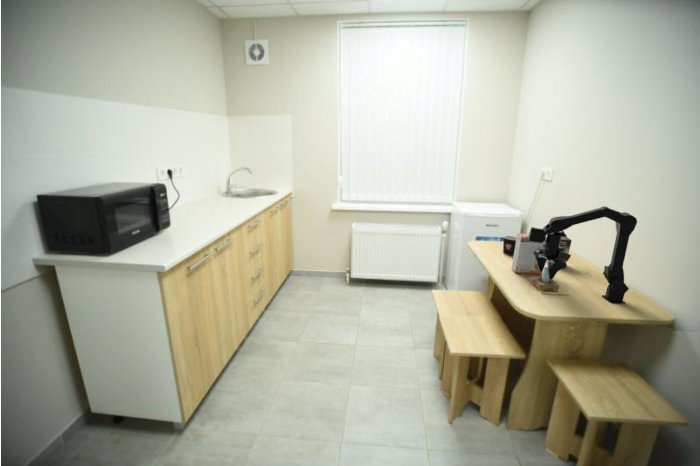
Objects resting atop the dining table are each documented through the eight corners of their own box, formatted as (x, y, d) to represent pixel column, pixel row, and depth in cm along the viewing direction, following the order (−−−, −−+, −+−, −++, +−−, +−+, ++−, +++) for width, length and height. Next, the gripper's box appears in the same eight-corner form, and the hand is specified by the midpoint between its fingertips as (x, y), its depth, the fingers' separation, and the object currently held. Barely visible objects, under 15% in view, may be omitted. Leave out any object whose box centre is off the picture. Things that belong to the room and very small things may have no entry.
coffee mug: (498, 251, 210) (500, 236, 208) (507, 250, 214) (510, 235, 211) (513, 258, 200) (516, 242, 197) (523, 256, 204) (526, 240, 201)
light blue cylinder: (548, 289, 161) (552, 269, 158) (541, 288, 161) (546, 269, 158) (545, 286, 164) (549, 267, 161) (538, 286, 164) (542, 267, 161)
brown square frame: (558, 292, 158) (559, 285, 157) (538, 291, 158) (540, 284, 157) (548, 283, 166) (549, 277, 165) (529, 283, 167) (531, 276, 166)
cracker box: (536, 270, 183) (544, 233, 177) (542, 274, 177) (549, 237, 171) (510, 269, 184) (517, 232, 178) (514, 273, 178) (521, 236, 172)
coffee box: (548, 265, 190) (553, 238, 185) (544, 261, 196) (550, 235, 191) (565, 267, 188) (572, 240, 183) (561, 263, 194) (567, 236, 189)
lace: (568, 294, 155) (568, 293, 155) (541, 293, 156) (541, 292, 156) (563, 290, 159) (564, 289, 159) (537, 289, 160) (537, 288, 160)
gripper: (582, 252, 147) (574, 284, 151) (559, 238, 165) (552, 268, 169) (556, 250, 147) (549, 283, 152) (536, 238, 165) (530, 267, 170)
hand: (545, 275), depth 161 cm, fingers open, 9 cm apart
